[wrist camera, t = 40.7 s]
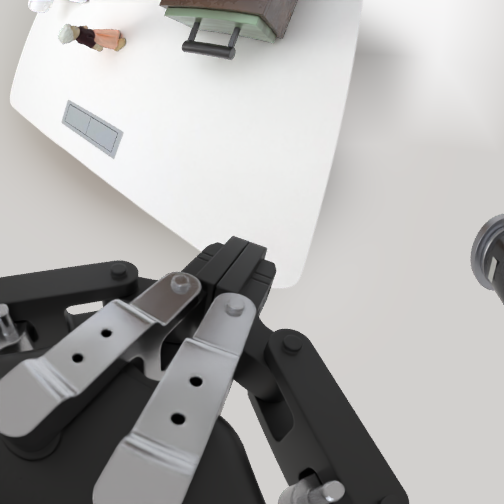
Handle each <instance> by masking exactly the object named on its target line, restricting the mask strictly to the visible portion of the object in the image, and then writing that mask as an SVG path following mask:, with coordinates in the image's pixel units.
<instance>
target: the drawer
mask: <svg viewBox="0 0 504 504" xmlns="http://www.w3.org/2000/svg"><path fill="white" fill-rule="evenodd" d="M165 16H167V17H169V18H172V19H174V20H176V21H178V22H180V23H183V24H185V25H187V26H189V27H191V28H192V30H191V33H190V36H189V38H188V40H189V41H188V40H187V41H185V42H184V43H183V45H182V50H183V51H184V52H190V53H196V54H202V55H208V56H213V57H219V58H224V59H228V60H232V59H233V58H234V56H235V48H234V46H235V43H236V41H237V38H238V36H243V37H248V38H253V39H258V40H262V41H266V42H271V43H274V41H275V39H276V35H275V34H274V32H273V31H272V30H271V29H270V28H269V27H268V25H267V24H266V23H265V22H264V21H263V20H262V19H261V18H260V17H259V16H255V15H249V14H243V13H236V12H228V11H220V10H211V9H204V8H167V10H166V12H165ZM198 30H205V31H213V32H220V33H226V34H232V36H231V39H230V41H229V44H228V47H227V46H222V45H216V44H210V43H203V42H196V41H194V40H195V37H196V34H197V31H198Z"/></svg>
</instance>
